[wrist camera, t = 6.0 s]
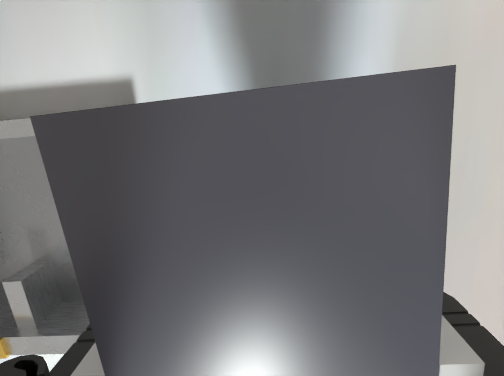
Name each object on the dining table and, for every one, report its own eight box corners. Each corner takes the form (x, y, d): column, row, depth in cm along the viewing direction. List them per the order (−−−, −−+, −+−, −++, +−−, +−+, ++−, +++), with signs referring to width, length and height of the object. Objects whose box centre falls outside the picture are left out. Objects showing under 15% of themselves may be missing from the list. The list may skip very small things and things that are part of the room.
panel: (344, 371, 14) (424, 627, 7) (219, 378, 14) (177, 626, 7) (333, 97, 11) (456, 65, 4) (174, 115, 11) (29, 116, 4)
